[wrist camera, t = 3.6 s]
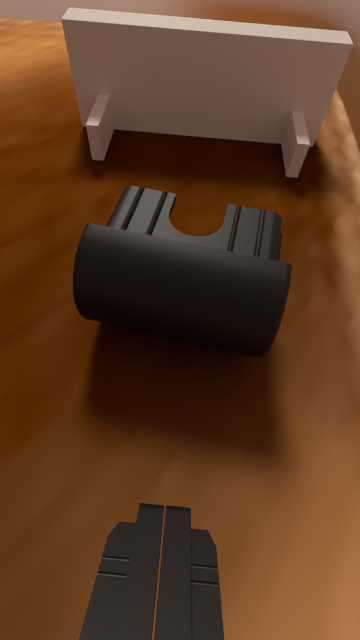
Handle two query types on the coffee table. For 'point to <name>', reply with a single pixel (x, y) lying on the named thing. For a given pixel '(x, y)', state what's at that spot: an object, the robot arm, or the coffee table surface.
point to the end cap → (184, 275)
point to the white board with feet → (203, 78)
